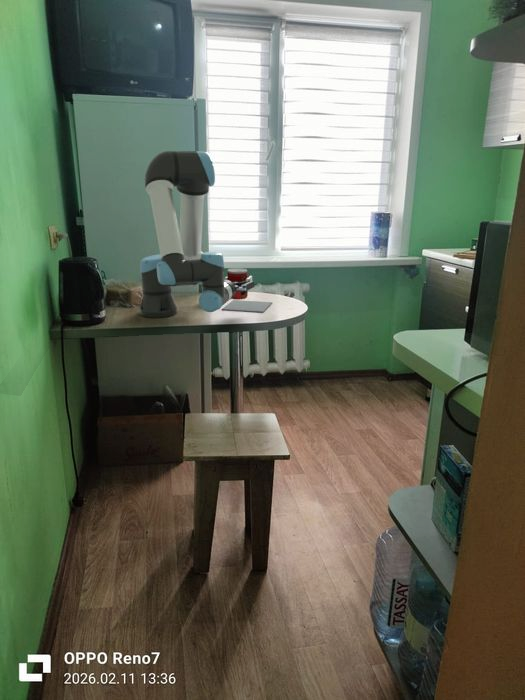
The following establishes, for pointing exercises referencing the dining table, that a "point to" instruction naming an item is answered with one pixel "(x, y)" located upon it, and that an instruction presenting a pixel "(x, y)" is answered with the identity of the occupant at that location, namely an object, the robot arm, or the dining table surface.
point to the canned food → (238, 280)
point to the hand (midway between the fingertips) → (240, 278)
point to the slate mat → (247, 306)
